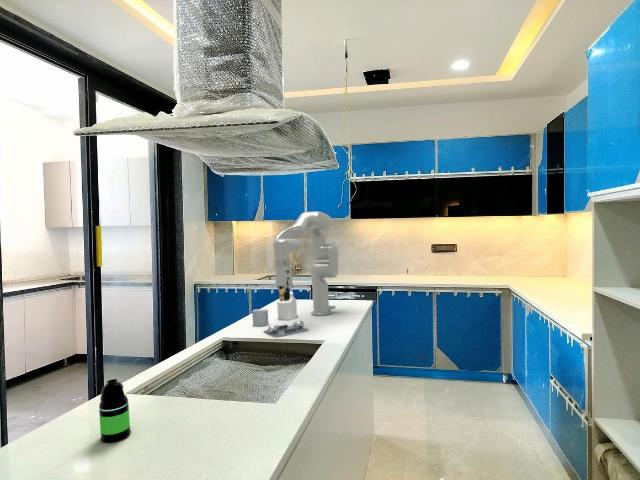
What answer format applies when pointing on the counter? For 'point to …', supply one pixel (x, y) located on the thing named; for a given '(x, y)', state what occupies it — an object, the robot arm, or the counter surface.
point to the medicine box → (260, 317)
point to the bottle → (114, 413)
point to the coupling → (282, 295)
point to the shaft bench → (286, 329)
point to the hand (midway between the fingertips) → (284, 298)
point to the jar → (287, 308)
